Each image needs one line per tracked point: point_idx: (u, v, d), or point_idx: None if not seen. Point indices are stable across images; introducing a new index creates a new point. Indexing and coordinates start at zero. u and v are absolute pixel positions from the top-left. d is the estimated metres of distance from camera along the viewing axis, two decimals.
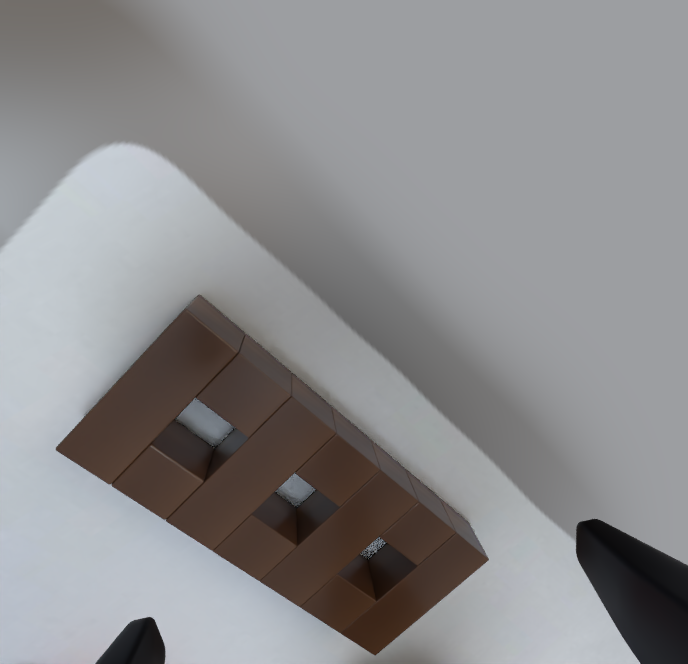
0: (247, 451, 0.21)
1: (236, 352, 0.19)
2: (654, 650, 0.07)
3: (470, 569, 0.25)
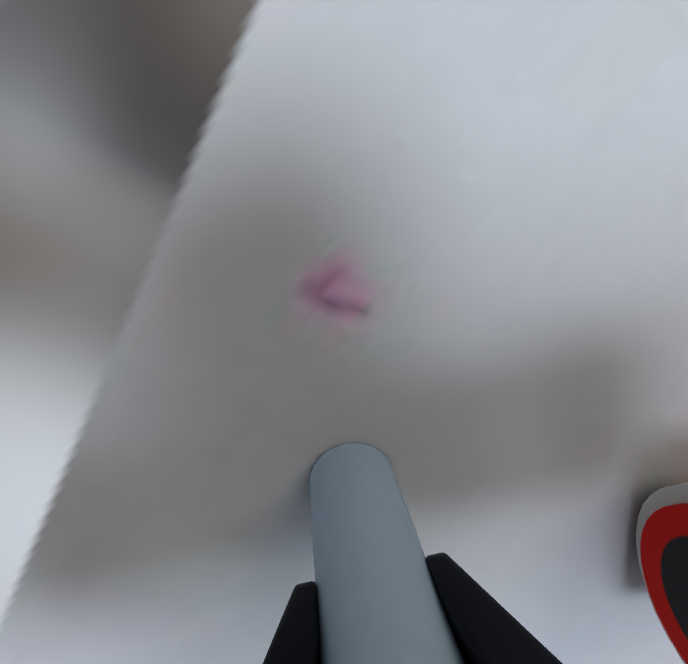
0: None
1: None
2: None
3: None
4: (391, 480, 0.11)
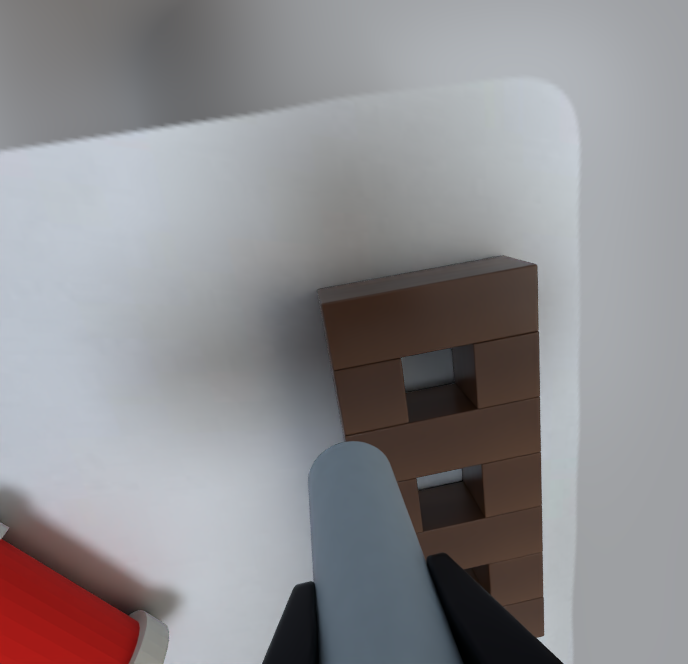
0: (466, 420, 0.20)
1: (537, 329, 0.19)
2: None
3: None
4: (390, 478, 0.11)
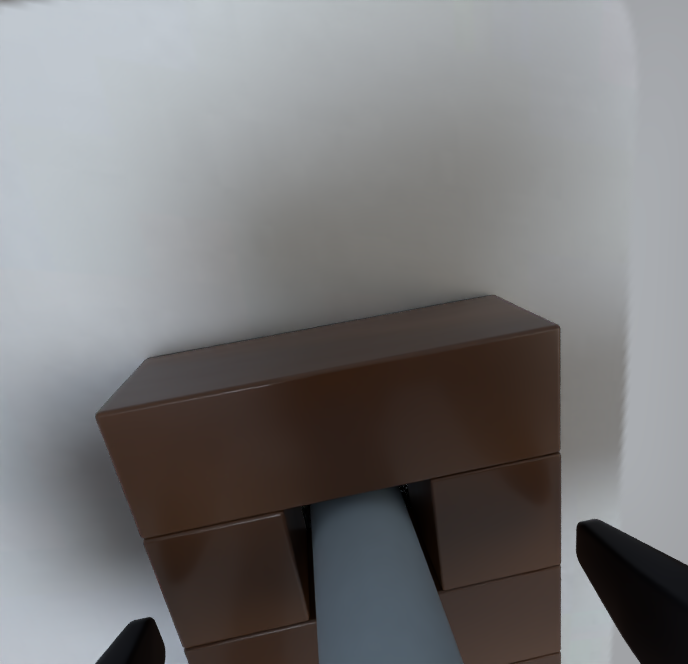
0: None
1: (558, 450, 0.09)
2: (654, 650, 0.07)
3: None
4: None
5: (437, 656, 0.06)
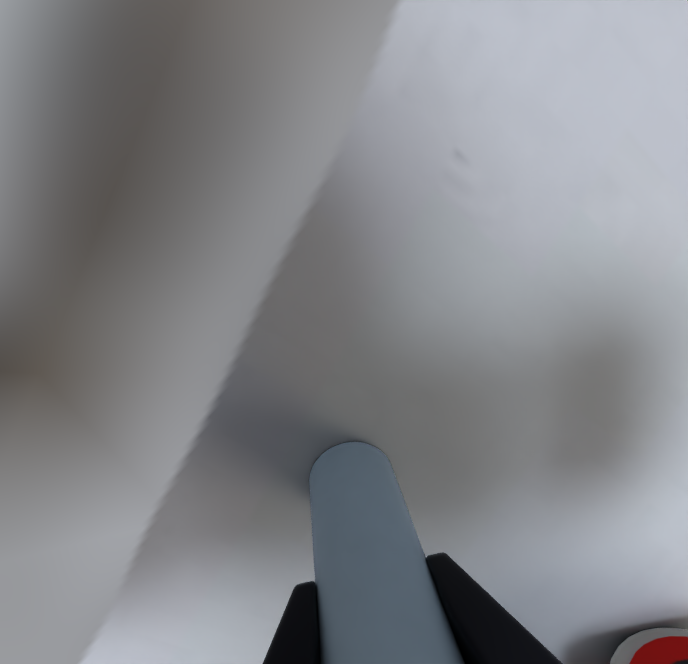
0: None
1: None
2: None
3: None
4: None
5: None
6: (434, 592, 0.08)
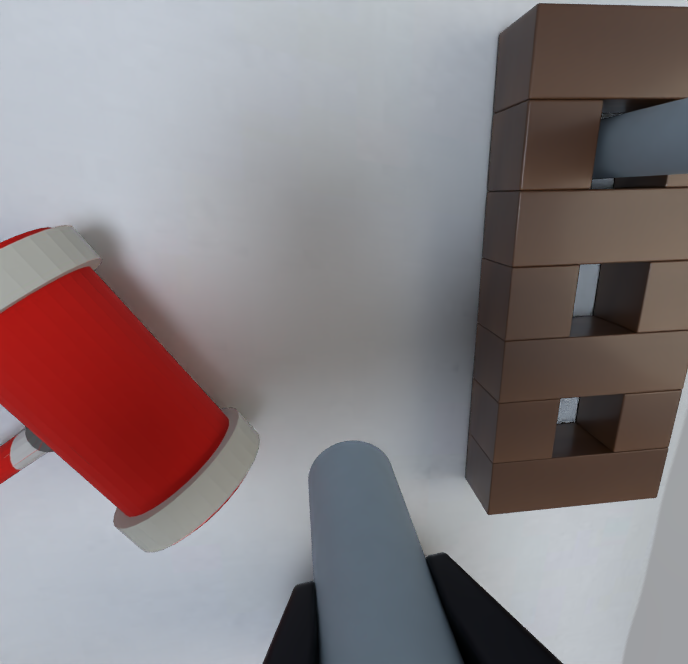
0: (650, 198, 0.17)
1: None
2: None
3: (638, 493, 0.22)
4: None
5: None
6: (433, 591, 0.08)
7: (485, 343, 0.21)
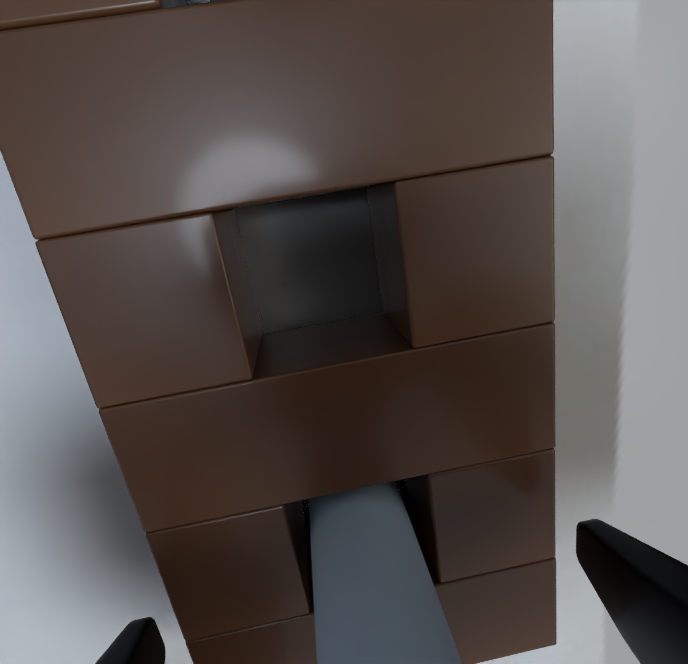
0: (338, 15, 0.07)
1: None
2: (654, 650, 0.07)
3: (516, 644, 0.11)
4: None
5: None
6: (424, 570, 0.08)
7: None
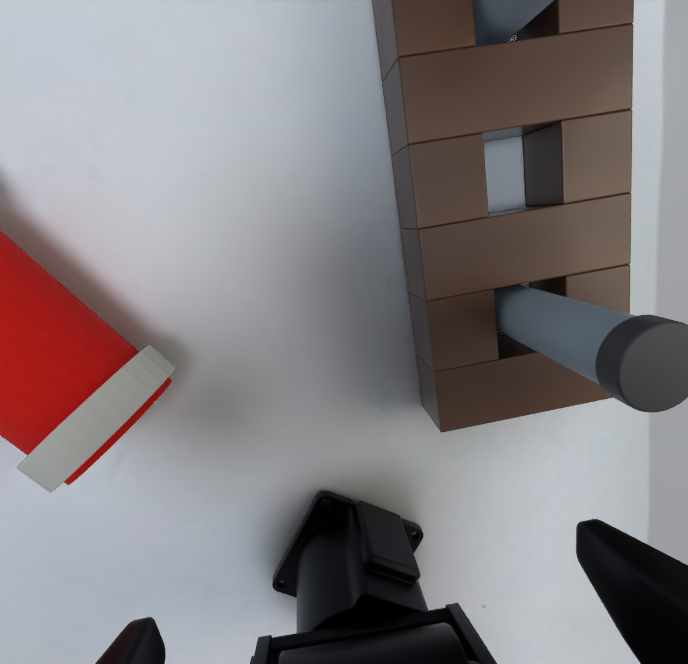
0: (545, 48, 0.16)
1: None
2: (654, 650, 0.07)
3: None
4: None
5: None
6: None
7: (408, 245, 0.19)
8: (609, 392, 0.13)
